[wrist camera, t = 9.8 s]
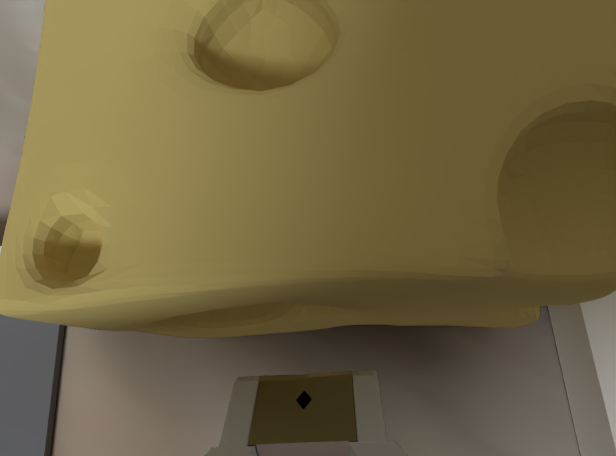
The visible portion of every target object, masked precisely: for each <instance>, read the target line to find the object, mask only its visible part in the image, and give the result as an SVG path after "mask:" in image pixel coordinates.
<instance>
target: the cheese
mask: <svg viewBox="0 0 616 456" xmlns="http://www.w3.org/2000/svg"><path fill="white" fill-rule="evenodd" d="M615 290H616V0H45V8H44V17H43V26H42V34H41V42H40V49H39V56H38V63H37V70H36V77H35V83H34V89H33V95H32V102H31V108H30V113H29V119H28V124H27V130H26V135H25V141H24V146H23V152H22V156H21V161H20V166H19V171H18V175H17V180H16V185H15V190H14V194H13V198H12V202H11V207H10V211H9V215H8V219H7V223H6V228H5V232H4V237H3V242H2V247H1V252H0V314H1V315H4V316H9V317H13V318H19V319H26V320H32V321H39V322H46V323H52V324H59V325H66V326H74V327H83V328H90V329H97V330H112V331H140V332H147V333H154V334H161V335H168V336H175V337H184V338H223V337H236V336H248V335H261V334H273V333H286V332H298V331H309V330H318V329H325V328H332V327H338V326H346V325H397V326H418V325H451V326H474V327H495V328H512V327H520V326H524V325H527V324H530V323H533V322H534V321H536V320H538V318H539V316H540V306H554V305H573V304H578V303H583V302H587V301H592V300H596V299H599V298H603V297H605V296H607V295H609V294H611V293H612V292H614V291H615Z"/></svg>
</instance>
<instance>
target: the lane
mask: <svg viewBox="0 0 616 456" xmlns="http://www.w3.org/2000/svg"><path fill="white" fill-rule="evenodd" d="M1 247H2V246H0V252H1ZM548 311H549V315H550V320H551V324H552V329H553V333H554V338H555V342H556V347H557V351H558V356H559V360H560V365H561V369H562V374H563V378H564V383H565V387H566V392H567V396H568V401H569V405H570V410H571V414H572V419H573V423H574V428H575V432H576V437H577V441H578V446H579V450H580V455H581V456H616V290H615V291H614V292H612V293H611V294H609V295H607V296H605V297H603V298H599V299H596V300H592V301H587V302H583V303H578V304H573V305H554V306H548ZM64 328H65V325H59V324H52V323H46V322H39V321H32V320H26V319H19V318H13V317H9V316H4V315H1V314H0V456H50V452H51V443H52V434H53V425H54V416H55V408H56V399H57V390H58V381H59V372H60V364H61V355H62V346H63V337H64Z"/></svg>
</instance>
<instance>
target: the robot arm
mask: <svg viewBox="0 0 616 456" xmlns="http://www.w3.org/2000/svg"><path fill="white" fill-rule="evenodd" d="M352 383H353V384H352ZM353 395H354V396H353ZM205 456H407V454H406V453H405V452H404V451H403V450H402V449H401V447H400V446H399V445H398V444H397V443H396V442H395V441H387V436H386V430H385V423H384V416H383V410H382V403H381V396H380V390H379V383H378V376H377V373H376V371H375V370H369V371H352V373H351V371H348V372H332V373H316V374H306V375H276V376H251V377H238V378H237V380H236V381H235V383H234V387H233V391H232V395H231V399H230V403H229V408H228V412H227V416H226V420H225V425H224V429H223V433H222V437H221V441H220V446H219V447H216V448H211V449H210V450H209V452H208V453H207V454H206V455H205Z"/></svg>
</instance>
